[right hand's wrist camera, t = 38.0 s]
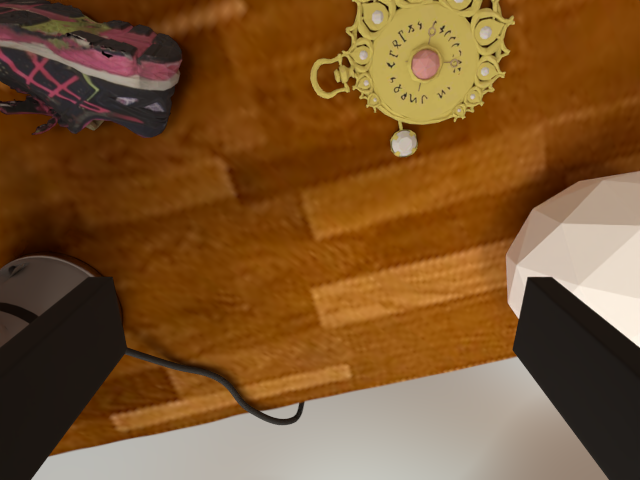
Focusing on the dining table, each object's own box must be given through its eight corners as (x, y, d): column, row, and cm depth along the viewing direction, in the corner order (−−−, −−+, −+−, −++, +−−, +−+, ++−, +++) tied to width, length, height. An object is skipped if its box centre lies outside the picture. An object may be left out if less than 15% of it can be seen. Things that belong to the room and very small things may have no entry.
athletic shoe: (-121, -30, 31) (-79, 124, 36) (88, 2, 25) (103, 181, 30) (25, -3, 41) (42, 115, 46) (200, 24, 35) (198, 157, 40)
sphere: (571, 229, 53) (743, 348, 40) (452, 304, 49) (603, 462, 36) (635, 101, 38) (934, 225, 26) (473, 193, 34) (736, 392, 22)
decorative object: (529, 126, 40) (337, 180, 41) (517, 124, 42) (335, 175, 43) (509, -125, 33) (276, -53, 33) (495, -110, 35) (278, -44, 36)
